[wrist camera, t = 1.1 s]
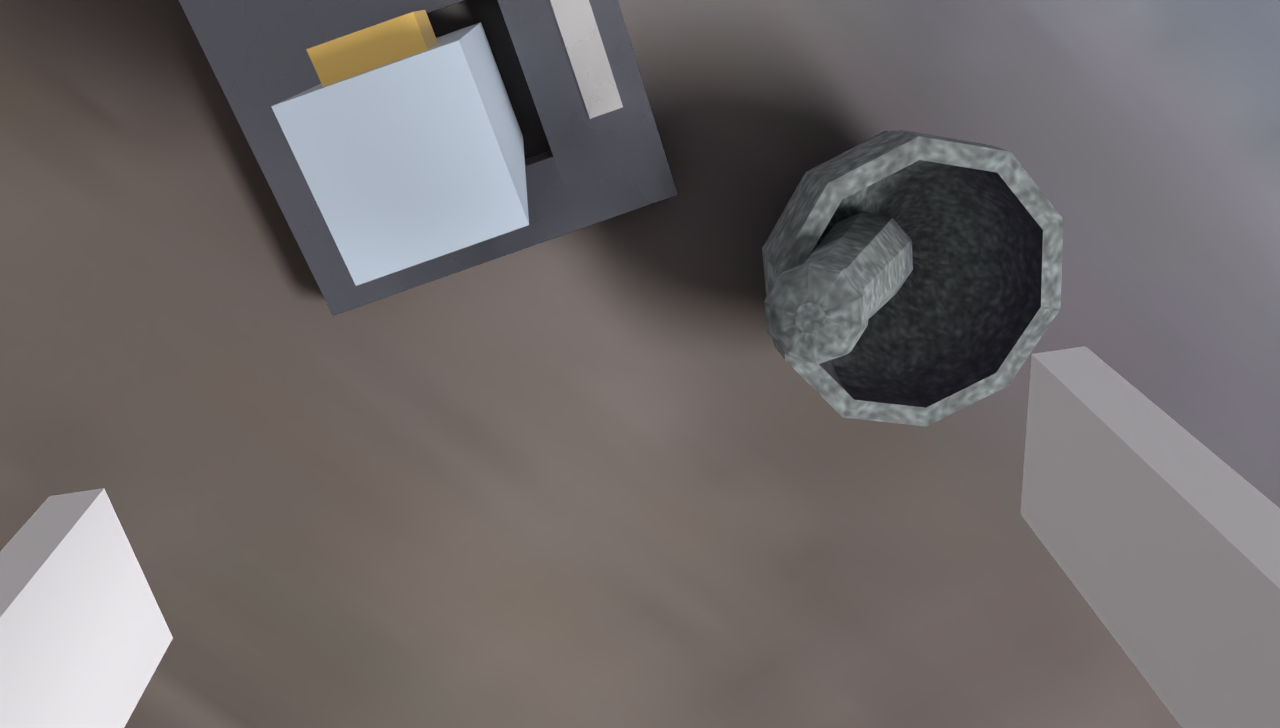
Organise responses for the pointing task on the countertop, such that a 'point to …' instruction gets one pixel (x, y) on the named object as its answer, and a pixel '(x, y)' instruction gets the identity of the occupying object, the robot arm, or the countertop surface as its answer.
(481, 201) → the plug
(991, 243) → the mortar and pestle
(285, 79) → the port panel
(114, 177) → the countertop surface
